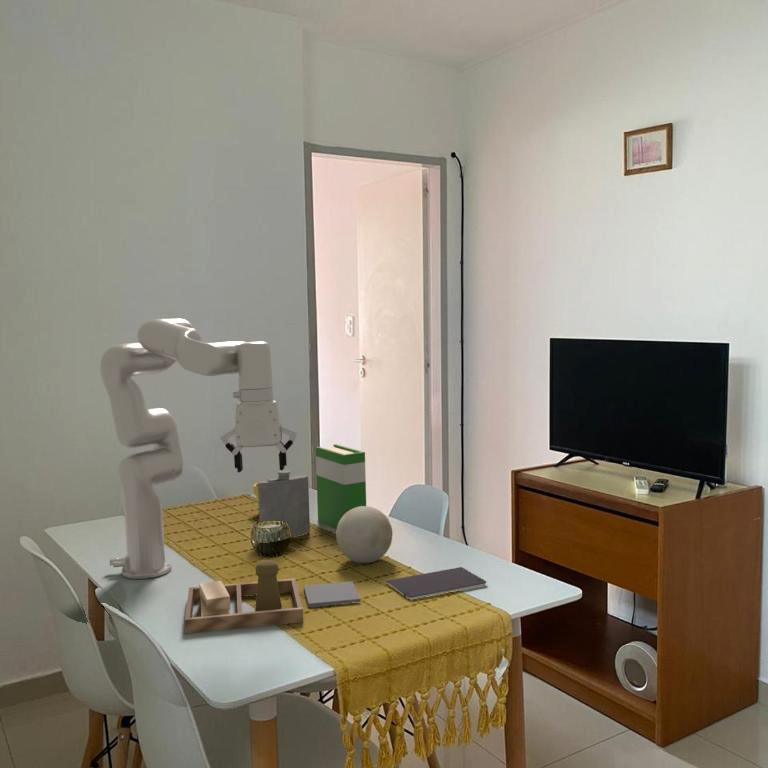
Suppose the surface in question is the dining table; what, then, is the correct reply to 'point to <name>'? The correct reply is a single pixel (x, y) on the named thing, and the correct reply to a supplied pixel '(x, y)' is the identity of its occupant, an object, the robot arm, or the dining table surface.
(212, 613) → the block
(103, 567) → the dining table surface
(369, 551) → the decorative sphere
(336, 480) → the hardback book
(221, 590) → the top offcut
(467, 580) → the notebook
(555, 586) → the dining table surface
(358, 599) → the rubber mat
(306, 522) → the hip flask
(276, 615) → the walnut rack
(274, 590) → the cork
